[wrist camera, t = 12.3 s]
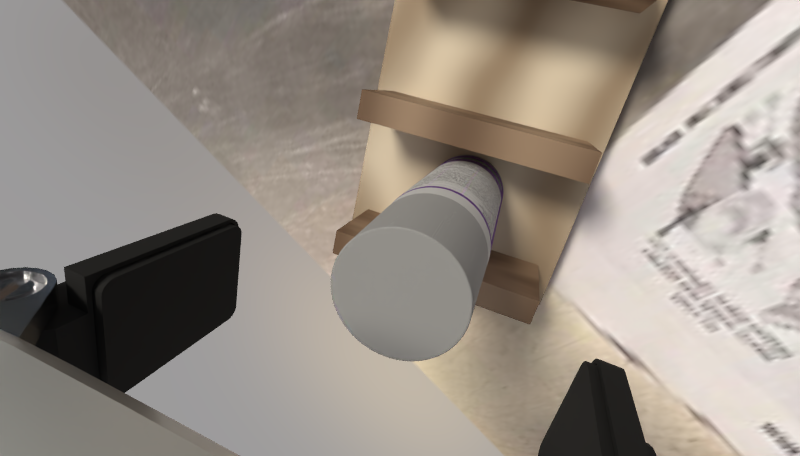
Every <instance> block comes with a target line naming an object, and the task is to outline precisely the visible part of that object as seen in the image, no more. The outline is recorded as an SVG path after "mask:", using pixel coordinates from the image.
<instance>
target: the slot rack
mask: <svg viewBox="0 0 800 456" xmlns="http://www.w3.org/2000/svg"><path fill="white" fill-rule="evenodd" d="M667 2H668V0H395V3H394V8H393V13H392V18H391V24H390V29H389V34H388V39H387V44H386V49H385V55H384V60H383V65H382V70H381V75H380V80H379V85H378V90H363V89H362V93H361V99H360V104H359V110H358V115H357V119H360V120H363V121H367V122H370V123H371V127H370V132H369V137H368V142H367V147H366V153H365V158H364V163H363V168H362V173H361V178H360V184H359V189H358V194H357V199H356V204H355V209H354V214H353V220H352V221H350V222H349V223H347V224H346V225H344V226H343V227H341V228H340V229H339V230H337V232H336V238H335V243H334V249H333V253H334V254H337V255H339V253H340V251H341V250H342V249H343V247H344V246H345V245H346V244H347V243H348V242H349V241H350V240H351V239H353V238H354V237H355V236H356V235H357V234H358V233H359V232H360V231H361V230H363V229H364V228H365V227H366V226H367V225H368V224H369V223H370V222H372V221H373V220H374V219H375V218H376V217H377V216H378V215H379V214H380V213H382V212H383V211H384V210H385V209H386V208H387V207H388V206H389V205H391V204H392V203H393V202H394V201H395V200H396V199H397V198H398V197H399V196H401V195H402V194H403V193H405V192H406V191H407V190H409V189H410V188H411V187H412V186H414V185H415V184H416V183H418V182H419V181H420V180H422V179H423V178H424V177H425V176H427V175H428V174H429V173H431V172H432V171H433V170H434V169H436V168H437V167H438V166H440V165H441V164H442V163H444V162H445V161H447V160H448V159H450V158H452V157H455V156H459V155H474V156H478V157H481V158H483V159H485V160H487V161H488V162H489V163H491V164H492V165H493V166H494V167H495V168H496V170H497V171H498V173H499V174H500V177H501V179H502V183H503V199H502V204H501V208H500V213H499V217H498V222H497V226H496V231H495V235H494V240H493V244H492V249H491V253H490V258H489V261H488V264H487V267H486V271H485V274H484V277H483V280H482V284H481V287H480V290H479V294H478V297H477V300H476V304H475V305H477V306H480V307H483V308H486V309H488V310H491V311H494V312H497V313H499V314H502V315H505V316H508V317H511V318H513V319H516V320H519V321H522V322H524V323H527V324H530V323H531V321H532V318H533V316H534V314H535V311H536V309H537V307H538V305H539V304H540V302H541V300H542V297H543V295H544V292H545V290H546V288H547V285H548V283H549V281H550V278H551V276H552V274H553V271H554V269H555V266H556V264H557V262H558V259H559V257H560V255H561V252H562V250H563V248H564V245H565V243H566V240H567V238H568V236H569V233H570V231H571V229H572V226H573V224H574V222H575V219H576V217H577V214H578V212H579V210H580V207H581V205H582V203H583V200H584V198H585V196H586V193H587V191H588V188H589V186H590V184H591V181H592V179H593V177H594V174H595V172H596V170H597V167H598V165H599V162H600V160H601V158H602V155H603V153H604V151H605V148H606V146H607V144H608V141H609V139H610V136H611V134H612V132H613V129H614V127H615V125H616V122H617V120H618V118H619V115H620V113H621V110H622V108H623V106H624V103H625V101H626V99H627V96H628V94H629V92H630V89H631V87H632V84H633V82H634V80H635V77H636V75H637V73H638V70H639V68H640V66H641V63H642V61H643V58H644V56H645V54H646V51H647V49H648V47H649V44H650V42H651V40H652V37H653V35H654V32H655V30H656V28H657V25H658V23H659V21H660V18H661V16H662V14H663V11H664V9H665V6H666V4H667Z"/></svg>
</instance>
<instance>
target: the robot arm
mask: <svg viewBox="0 0 800 456" xmlns="http://www.w3.org/2000/svg"><path fill="white" fill-rule="evenodd" d="M240 245H241V229H240V228H239V227H238V223H237V222H236V221H235V220H233V219H230V218H228V217H225V216H222V215H220V214H217V213H216V214H212V215H209V216H206V217H204V218H201V219H198V220H195V221H192V222H190V223H187V224H184V225H181V226H178V227H176V228H173V229H170V230H167V231H164V232H161V233H159V234H156V235H153V236H150V237H147V238H145V239H142V240H139V241H136V242H133V243H131V244H128V245H125V246H122V247H120V248H117V249H114V250H111V251H108V252H106V253H103V254H100V255H97V256H94V257H92V258H89V259H86V260H83V261H80V262H78V263H75V264H72V265H69V266H66V267H64V272H65V280H66V281H65V282H63V283H60V284H58V285H57V279H56V277H55V275H54V274H52V273H51V272H49V271H47V270H43V269H39V268H28V267H23V268H9V269H4V270H0V456H239V455H237V454H235V453H234V452H232V451H230V450H228V449H226V448H224V447H223V446H221V445H219V444H217V443H215V442H214V441H212V440H210V439H208V438H206V437H204V436H203V435H201V434H199V433H197V432H195V431H193V430H191V429H189V428H188V427H186V426H184V425H182V424H181V423H179V422H177V421H175V420H173V419H171V418H169V417H167V416H165V415H164V414H162V413H160V412H158V411H157V410H155V409H153V408H151V407H149V406H147V405H145V404H144V403H142V402H140V401H138V400H136V399H134V398H132V397H131V396H129V395H127V394H125V392H126V391H128V390H129V389H131V388H132V387H134V386H135V385H136V384H138V383H139V382H141V381H142V380H143V379H145V378H146V377H148V376H149V375H150V374H152V373H153V372H155V371H156V370H158V369H159V368H160V367H162V366H163V365H165V364H166V363H167V362H169V361H170V360H172V359H173V358H175V357H176V356H177V355H179V354H180V353H182V352H183V351H184V350H186V349H187V348H189V347H190V346H192V345H193V344H194V343H196V342H197V341H199V340H200V339H201V338H203V337H204V336H206V335H207V334H208V333H210V332H211V331H213V330H214V329H215V328H217V327H218V326H220V325H221V324H222V323H224V322H225V321H227V320H228V319H229V318H231V316H232V315H233V313H234V311H235V308H236V299H237V285H238V272H239V258H240ZM538 456H656V453H655V451H654V449H653V447H651V446H650V445H649V444H647V443H646V442H645V439H644V435H643V432H642V428H641V425H640V422H639V418H638V415H637V411H636V408H635V404H634V401H633V397H632V394H631V390H630V387H629V384H628V380H627V377H626V373H625V371H624V369H622V368H620V367H617V366H615V365H612V364H610V363H607V362H604V361H602V360H599V359H595V360H594V361H593V362H592V363H589V362H587V361H584V362H583V363H582V365H581V367H580V369H579V371H578V372H577V374H576V376H575V378H574V380H573V382H572V384H571V386H570V388H569V390H568V392H567V394H566V396H565V398H564V400H563V402H562V404H561V406H560V408H559V410H558V412H557V414H556V416H555V418H554V420H553V422H552V424H551V425H550V427H549V429H548V431H547V433H546V435H545V437H544V439H543V441H542V443H541V446H540V449H539V454H538Z"/></svg>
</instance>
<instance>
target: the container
mask: <svg viewBox="0 0 800 456" xmlns="http://www.w3.org/2000/svg"><path fill="white" fill-rule="evenodd" d="M502 199H503V183H502V179H501V177H500V174H499V173H498V171H497V170H496V168H495V167H494V166H493V165H492V164H491V163H489V162H488V161H487V160H485V159H483V158H481V157H478V156H474V155H459V156H455V157H452V158H450V159H448V160H447V161H445V162H444V163H442V164H441V165H440V166H438V167H437V168H436V169H434V170H433V171H432V172H431V173H429V174H428V175H427V176H425V177H424V178H423V179H422V180H420V181H419V182H418V183H416V184H415V185H414V186H412V187H411V188H410V189H409V190H407V191H406V192H405V193H403V194H402V195H401V196H399V197H398V198H397V199H396V200H395V201H394V202H393V203H392V204H391V205H389V206H388V207H387V208H386V209H385V210H384V211H383V212H382V213H380V214H379V215H378V216H377V217H376V218H375V219H374V220H373V221H372V222H370V223H369V224H368V225H367V226H366V227H365V228H364V229H363V230H361V231H360V232H359V233H358V234H357V235H356V236H355V237H354V238H353V239H351V240H350V241H349V242H348V243H347V244H346V245H345V246H344V247H343V249H342V250H341V251H340V253H339V255H338V256H337V258H336V260H335V263H334V266H333V269H332V274H331V294H332V299H333V302H334V306H335V308H336V311H337V313H338V315H339V317H340V319H341V320H342V322H343V324H344V325H345V327H346V328H347V329H348V330H349V332H350V333H351V334H352V335H353V336H354V337H355V338H356V339H357V340H358V341H360V342H361V343H362V344H363V345H365V346H366V347H368V348H369V349H371V350H373V351H374V352H376V353H378V354H381V355H383V356H386V357H389V358H392V359H396V360H402V361H422V360H428V359H431V358H434V357H437V356H439V355H441V354H443V353H445V352H447V351H448V350H450V349H451V348H452V347H454V346H455V345H456V344H457V343H458V342H459V341H460V339H461V338H462V337H463V335H464V334H465V332H466V330H467V328H468V326H469V323H470V320H471V317H472V314H473V310H474V307H475V304H476V300H477V297H478V294H479V290H480V287H481V284H482V280H483V277H484V274H485V271H486V267H487V264H488V261H489V258H490V253H491V249H492V244H493V240H494V235H495V231H496V226H497V222H498V217H499V213H500V208H501V204H502Z"/></svg>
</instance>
